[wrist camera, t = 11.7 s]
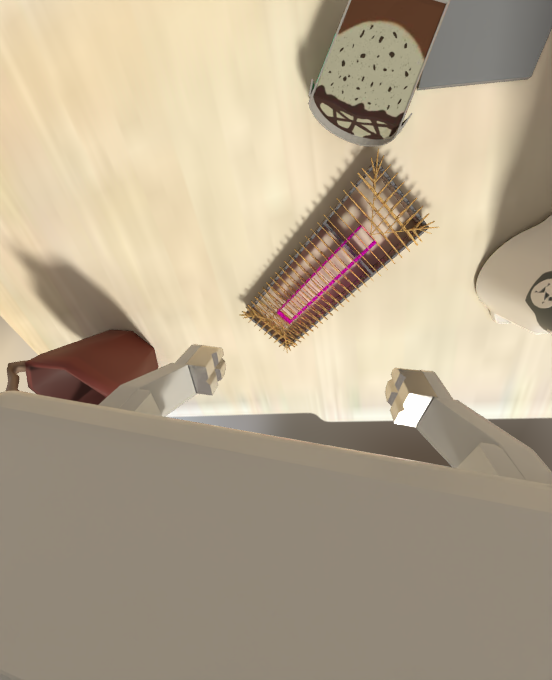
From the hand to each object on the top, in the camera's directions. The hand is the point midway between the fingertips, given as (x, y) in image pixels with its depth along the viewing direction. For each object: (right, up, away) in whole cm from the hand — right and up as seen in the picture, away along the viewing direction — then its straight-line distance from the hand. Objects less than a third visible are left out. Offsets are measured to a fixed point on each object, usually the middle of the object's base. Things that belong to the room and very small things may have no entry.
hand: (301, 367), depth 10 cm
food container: (+12, +37, +13) cm, 41 cm away
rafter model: (+8, +15, +32) cm, 36 cm away
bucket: (-45, -2, +53) cm, 70 cm away
